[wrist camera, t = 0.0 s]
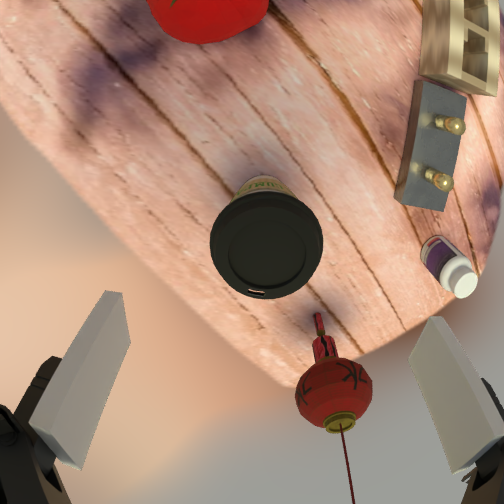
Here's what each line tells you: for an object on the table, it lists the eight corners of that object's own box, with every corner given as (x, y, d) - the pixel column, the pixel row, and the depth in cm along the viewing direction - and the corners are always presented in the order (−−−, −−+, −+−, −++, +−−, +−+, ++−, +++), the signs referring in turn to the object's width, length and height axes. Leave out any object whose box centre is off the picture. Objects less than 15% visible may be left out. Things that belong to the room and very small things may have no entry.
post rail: (414, 80, 31) (440, 80, 25) (456, 96, 31) (485, 99, 25) (393, 197, 38) (414, 215, 32) (434, 205, 38) (458, 223, 33)
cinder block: (422, -25, 23) (448, -40, 17) (469, -3, 23) (497, -11, 17) (418, 75, 30) (447, 73, 24) (465, 93, 31) (496, 96, 24)
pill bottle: (416, 267, 43) (445, 304, 34) (423, 234, 40) (456, 268, 32) (444, 265, 43) (474, 300, 34) (451, 234, 40) (486, 266, 32)
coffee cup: (313, 172, 37) (344, 216, 24) (290, 242, 41) (305, 314, 28) (233, 151, 36) (219, 184, 23) (217, 225, 41) (197, 292, 27)
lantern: (303, 282, 44) (341, 491, 18) (357, 300, 46) (422, 484, 19) (276, 329, 48) (286, 519, 22) (328, 343, 50) (362, 515, 23)
